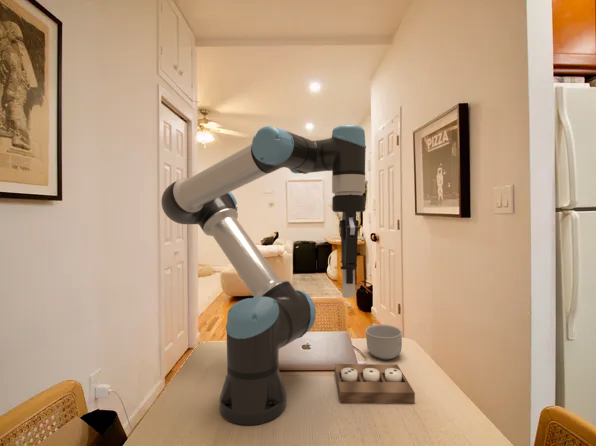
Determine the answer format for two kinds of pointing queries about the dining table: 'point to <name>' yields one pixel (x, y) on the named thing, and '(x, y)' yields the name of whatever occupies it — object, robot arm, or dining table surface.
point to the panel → (373, 386)
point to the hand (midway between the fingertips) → (348, 296)
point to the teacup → (384, 341)
